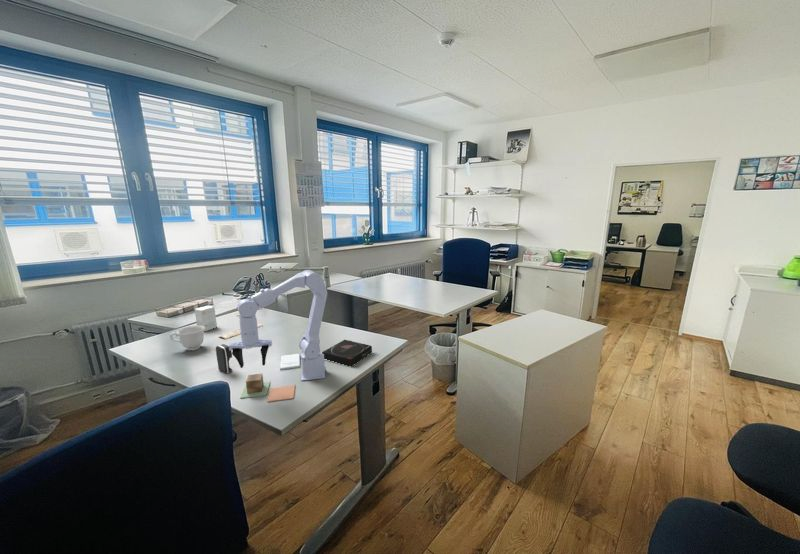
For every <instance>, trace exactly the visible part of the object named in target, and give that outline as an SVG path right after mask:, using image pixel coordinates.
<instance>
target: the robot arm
mask: <svg viewBox="0 0 800 554" xmlns="http://www.w3.org/2000/svg"><path fill="white" fill-rule="evenodd" d="M306 287H307V288H308V289H309V290H310V292H312V294H313V298H312V300H311V301H312V302H311V305H310V306H311V307H310V311H309V316H308V320H307V326H306V330H305V332H304V333H303V335H302V338H301V339H300V340H299V343H298V347H299V349H300V350H301V354H300V362H301V363H300V364H301V377H300V381H302V382H304V381H310V380H311V381H312V380H319V379H320V380H321V379H325V378H326V371H327V369H326V368H327V367H326V366H325V360H324V354H322V353H321V346H320V344H321V343H320V342H321V339H320V330H321V325H322V320H323V317H324V312H325V307H326V302H327V299H328V290H327V287H326V284H325V279H324V278H323V277H322V276H321V274H319V273H317V272H315V271H313V270H311V269H305V270H303V271H302V272H298V273H296V274H295V275H294V276H291V277H290V278H288V279H286V280H284V281H283V282H282V283H280V284H278V285H276V286H274V287H273V288H268V287H267V288H261V289H259V292H257V293H254V294H253V295H249V296H247V298H244V299H241V300H240V301H239V302H238V303H237V306H236V310H237V311H238V313H239V317H238V318H239V319H238V321H239V330H241V334H240V338H241V341H237V342H233V343H229V345H228V346H229V351H230V350H231V352H232V357H234V358H235V359H236V361H237V362H238V365H239V368H241V369H242V368H244V365H245V364H244V363H245V362H244V358H243V355H244V354H243V349H245V350H249V349H252V348H253V349H254V348H260V347H261V348H260V354H261V364H262V366H265V365H266V359H267V354H268V351H269V348H270V347H272V346H273V340H272V339H259V331H258V330H259V328H257V323H258V320H257V317H256V313H258V311H260V310H262V309H263V308H265V307H267V306H269V305H271V304H272V303H274V302H276V298H277V297H278V296H280V295H284V294H285V293H287V292H289V291H291V290H294V289H295V288H302V289H305V288H306Z"/></svg>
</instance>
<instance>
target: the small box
mask: <svg viewBox="0 0 800 554" xmlns="http://www.w3.org/2000/svg"><path fill="white" fill-rule="evenodd" d="M194 315H195V321H196V326H198V325H199V326H204V327H205V329H204V333H205V332H208V331H210V330H214V329H216V327H217V328H218V325H217V324H218V323H217V316H216V308H215V306H213V305H204V306H201V307H197V308H194ZM213 328H214V329H213Z"/></svg>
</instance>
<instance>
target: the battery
mask: <svg viewBox="0 0 800 554" xmlns="http://www.w3.org/2000/svg"><path fill="white" fill-rule="evenodd" d="M232 352H233V351H232V350H230V351H229V345H227V344H224V343H223V344H219V345H217V346H215V354H216V359H217V360H216V361H217V368H218V371H221V372H222V373H225V374H228V373H231V372H232V371H233V369H232V368H231V366H230V360H231V358H233V354H232Z"/></svg>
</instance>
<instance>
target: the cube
mask: <svg viewBox="0 0 800 554" xmlns="http://www.w3.org/2000/svg"><path fill="white" fill-rule="evenodd" d="M264 383H265V382H264V375H263V373H256V374H248V376H247V378H246V381H245V385H246V387H247V394H250V393H257V392H262V389H263V386H264Z"/></svg>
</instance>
